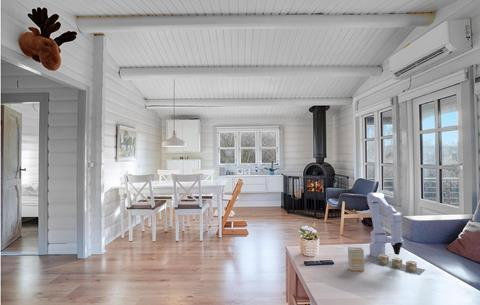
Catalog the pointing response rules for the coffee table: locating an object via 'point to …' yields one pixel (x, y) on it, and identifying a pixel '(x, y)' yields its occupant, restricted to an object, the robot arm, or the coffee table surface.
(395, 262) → the plain block
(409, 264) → the three pip block
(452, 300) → the coffee table surface
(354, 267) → the supplement box
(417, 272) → the slate mat
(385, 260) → the two pip block
